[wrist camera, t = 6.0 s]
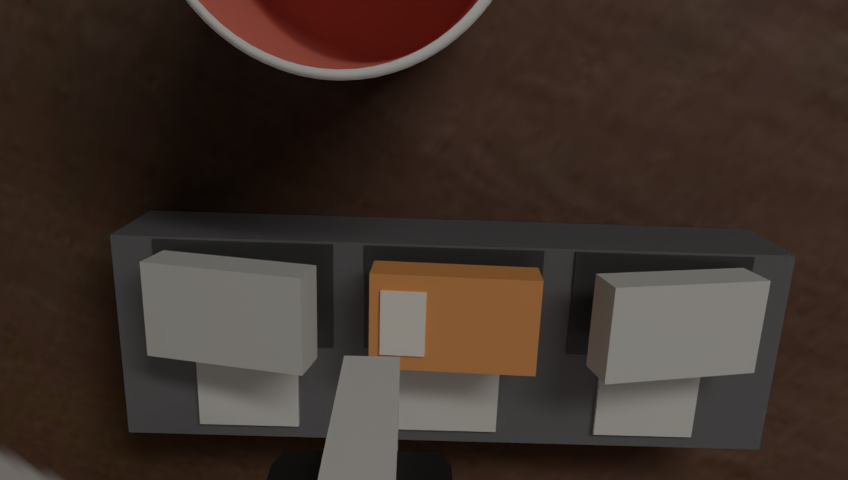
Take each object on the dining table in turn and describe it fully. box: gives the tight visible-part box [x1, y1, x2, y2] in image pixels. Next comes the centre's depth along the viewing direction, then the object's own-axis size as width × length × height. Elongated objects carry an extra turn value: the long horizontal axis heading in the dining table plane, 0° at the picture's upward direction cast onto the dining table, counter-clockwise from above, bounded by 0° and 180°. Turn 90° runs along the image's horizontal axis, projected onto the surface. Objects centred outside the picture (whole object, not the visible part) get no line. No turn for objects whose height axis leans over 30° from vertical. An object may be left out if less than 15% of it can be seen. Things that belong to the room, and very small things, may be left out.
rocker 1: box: [140, 250, 317, 376], centre depth 25 cm, size 6×4×2 cm, turn 88°
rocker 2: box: [369, 260, 544, 376], centre depth 25 cm, size 6×4×2 cm, turn 88°
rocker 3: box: [586, 268, 771, 384], centre depth 25 cm, size 6×4×2 cm, turn 89°
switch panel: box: [110, 210, 796, 449], centre depth 29 cm, size 26×8×4 cm, turn 88°
